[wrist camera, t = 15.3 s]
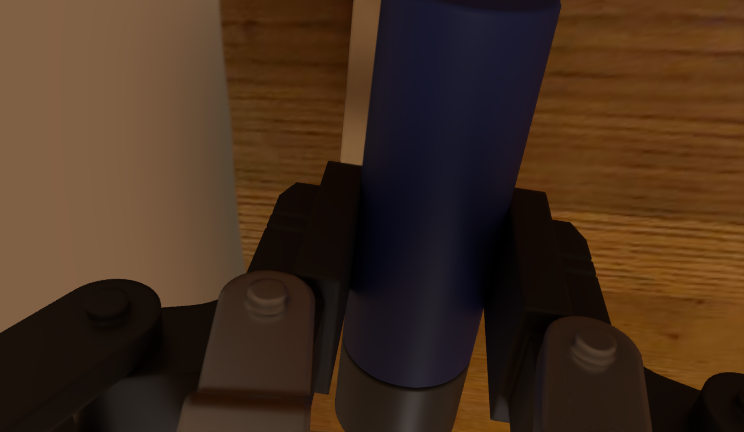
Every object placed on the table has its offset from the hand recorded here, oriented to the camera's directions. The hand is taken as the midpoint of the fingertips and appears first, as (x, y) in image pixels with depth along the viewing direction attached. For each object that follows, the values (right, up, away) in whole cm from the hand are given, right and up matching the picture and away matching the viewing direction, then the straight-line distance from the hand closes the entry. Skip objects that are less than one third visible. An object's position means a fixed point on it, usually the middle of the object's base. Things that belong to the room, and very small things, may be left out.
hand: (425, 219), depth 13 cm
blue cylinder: (0, 0, +1) cm, 1 cm away
